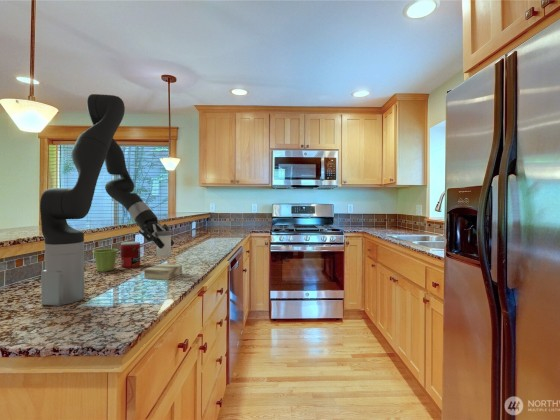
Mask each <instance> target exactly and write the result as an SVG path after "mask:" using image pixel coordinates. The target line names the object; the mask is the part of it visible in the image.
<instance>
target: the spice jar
mask: <svg viewBox="0 0 560 420" xmlns="http://www.w3.org/2000/svg"><path fill="white" fill-rule="evenodd" d="M171 233H172V230H170V231H157V235H158V238H159V239H160V240H161V241H162V242H163V243H164V247H163V248H161V249H160V248H159V247H158V246H157V245H156V244H155V246H156V249H155V250H156V258H169V257H172V246H171V239H172V235H171Z"/></svg>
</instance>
